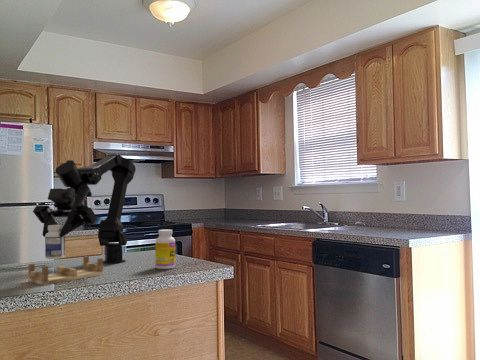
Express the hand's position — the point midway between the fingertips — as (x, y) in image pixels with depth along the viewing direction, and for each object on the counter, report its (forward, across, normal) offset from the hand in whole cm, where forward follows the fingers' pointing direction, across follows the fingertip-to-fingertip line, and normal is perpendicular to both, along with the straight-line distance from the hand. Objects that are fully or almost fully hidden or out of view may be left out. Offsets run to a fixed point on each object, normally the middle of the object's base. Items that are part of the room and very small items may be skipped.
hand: (52, 236), depth 125 cm
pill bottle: (+4, 0, +6) cm, 7 cm away
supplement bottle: (-9, +24, +29) cm, 39 cm away
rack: (+6, +1, +13) cm, 14 cm away
